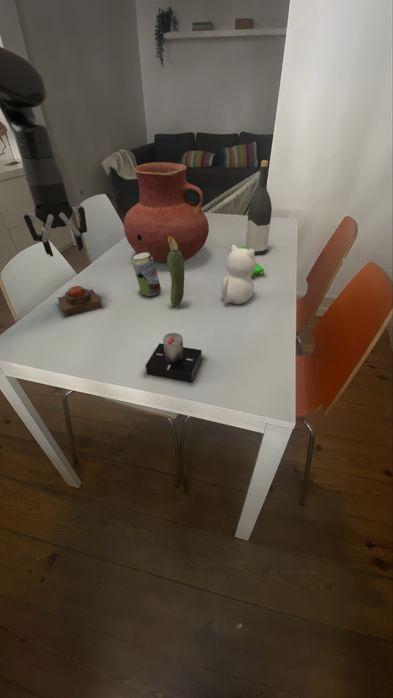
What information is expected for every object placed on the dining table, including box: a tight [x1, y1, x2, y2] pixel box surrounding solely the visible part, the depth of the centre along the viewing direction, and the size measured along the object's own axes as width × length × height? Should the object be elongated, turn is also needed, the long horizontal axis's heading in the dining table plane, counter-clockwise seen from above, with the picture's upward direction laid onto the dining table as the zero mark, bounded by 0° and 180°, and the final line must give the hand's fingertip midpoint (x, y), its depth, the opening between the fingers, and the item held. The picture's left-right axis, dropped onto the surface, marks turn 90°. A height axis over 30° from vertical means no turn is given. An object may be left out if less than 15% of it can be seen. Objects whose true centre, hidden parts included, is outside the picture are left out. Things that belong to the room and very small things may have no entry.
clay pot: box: [123, 161, 210, 264], centre depth 109 cm, size 30×29×30 cm
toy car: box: [237, 246, 265, 278], centre depth 105 cm, size 11×7×7 cm, turn 28°
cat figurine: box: [221, 243, 257, 305], centre depth 87 cm, size 9×12×15 cm
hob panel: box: [145, 342, 203, 383], centre depth 69 cm, size 10×8×3 cm
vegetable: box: [166, 237, 185, 308], centre depth 83 cm, size 4×4×20 cm
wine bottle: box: [245, 160, 273, 256], centre depth 112 cm, size 8×8×30 cm
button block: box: [57, 287, 102, 318], centre depth 90 cm, size 10×8×4 cm
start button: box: [68, 285, 84, 297], centre depth 88 cm, size 4×4×2 cm
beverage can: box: [131, 253, 162, 297], centre depth 93 cm, size 6×7×12 cm
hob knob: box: [162, 332, 184, 363], centre depth 66 cm, size 4×4×5 cm
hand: (65, 252), depth 81 cm, fingers open, 6 cm apart
